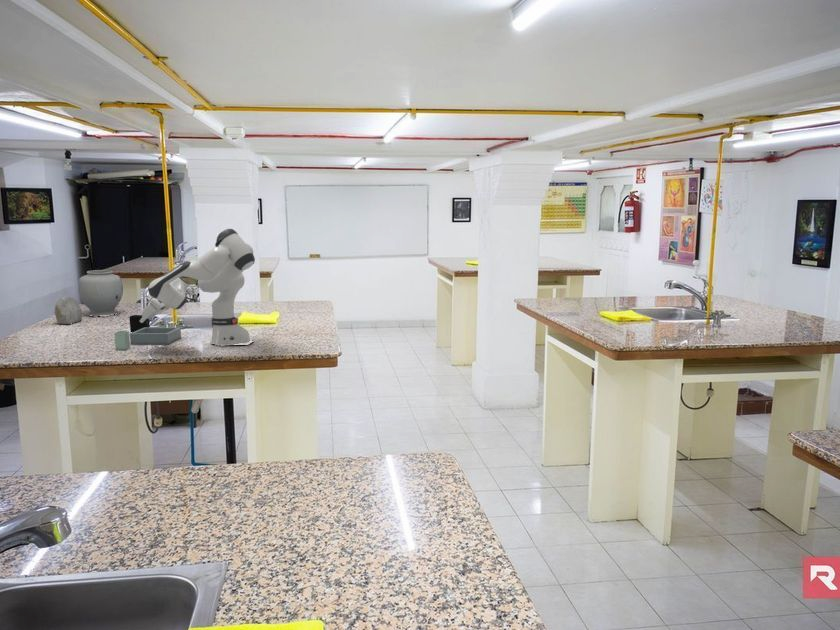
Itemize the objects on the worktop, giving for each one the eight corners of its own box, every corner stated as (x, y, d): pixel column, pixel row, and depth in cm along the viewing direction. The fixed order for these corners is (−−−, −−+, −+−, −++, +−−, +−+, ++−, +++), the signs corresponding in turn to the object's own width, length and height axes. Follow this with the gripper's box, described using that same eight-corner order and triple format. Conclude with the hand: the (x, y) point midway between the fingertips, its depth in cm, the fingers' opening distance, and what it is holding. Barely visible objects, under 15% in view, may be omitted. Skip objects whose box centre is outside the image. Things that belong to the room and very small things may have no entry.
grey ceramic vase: (133, 313, 441) (130, 270, 436) (101, 319, 417) (98, 273, 412) (103, 311, 451) (100, 268, 446) (71, 316, 426) (67, 271, 421)
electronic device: (145, 333, 371) (144, 316, 369) (130, 332, 373) (129, 315, 371) (150, 332, 375) (149, 315, 373) (134, 331, 377) (133, 314, 375)
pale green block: (129, 348, 332) (128, 331, 330) (125, 350, 327) (124, 332, 325) (120, 347, 332) (119, 330, 330) (115, 350, 327) (114, 332, 326)
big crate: (181, 338, 358) (180, 327, 357) (168, 344, 340) (167, 333, 339) (145, 337, 358) (144, 327, 357) (130, 344, 340) (129, 333, 339)
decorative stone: (67, 326, 394) (53, 325, 395) (88, 320, 413) (74, 319, 414) (65, 299, 391) (50, 298, 392) (86, 294, 410) (72, 294, 412)
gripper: (166, 294, 335) (149, 312, 337) (150, 299, 315) (131, 319, 316) (175, 302, 336) (158, 321, 337) (159, 308, 316) (141, 328, 317)
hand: (145, 320), depth 327 cm, fingers open, 8 cm apart
